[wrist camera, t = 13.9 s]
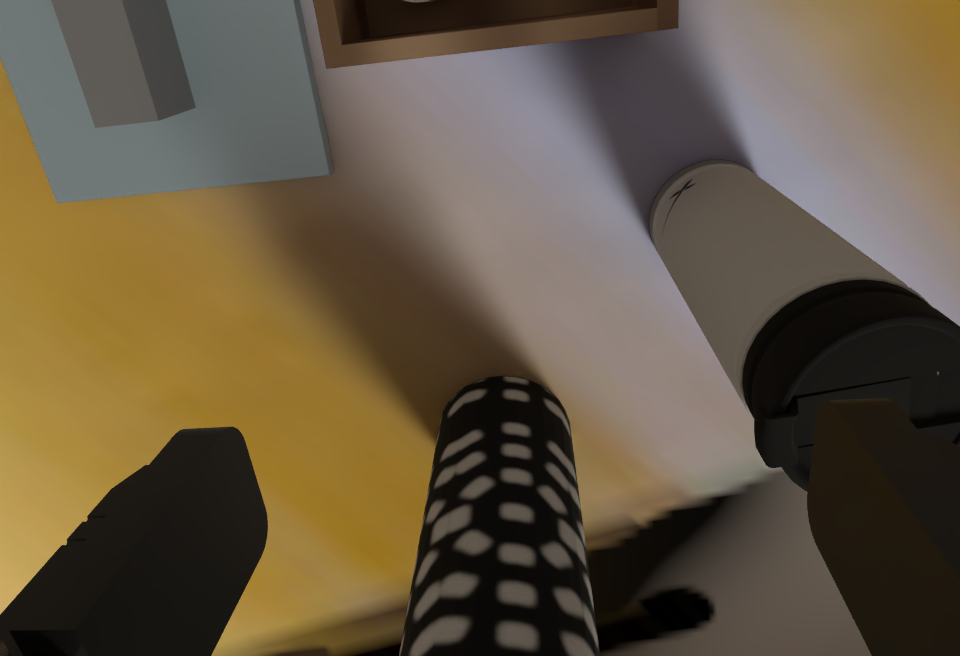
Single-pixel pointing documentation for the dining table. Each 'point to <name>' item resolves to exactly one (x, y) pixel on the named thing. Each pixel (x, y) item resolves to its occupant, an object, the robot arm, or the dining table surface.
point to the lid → (164, 93)
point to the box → (473, 25)
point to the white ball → (420, 0)
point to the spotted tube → (502, 532)
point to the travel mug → (799, 312)
